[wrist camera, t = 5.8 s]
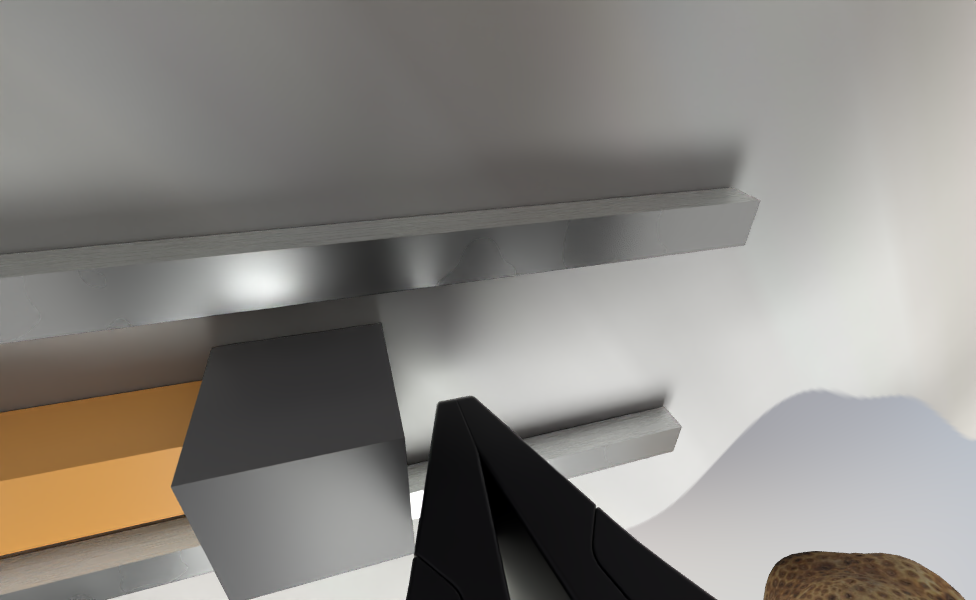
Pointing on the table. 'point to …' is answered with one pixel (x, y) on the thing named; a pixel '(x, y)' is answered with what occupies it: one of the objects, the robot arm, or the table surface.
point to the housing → (328, 276)
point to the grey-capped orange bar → (228, 462)
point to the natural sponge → (854, 578)
